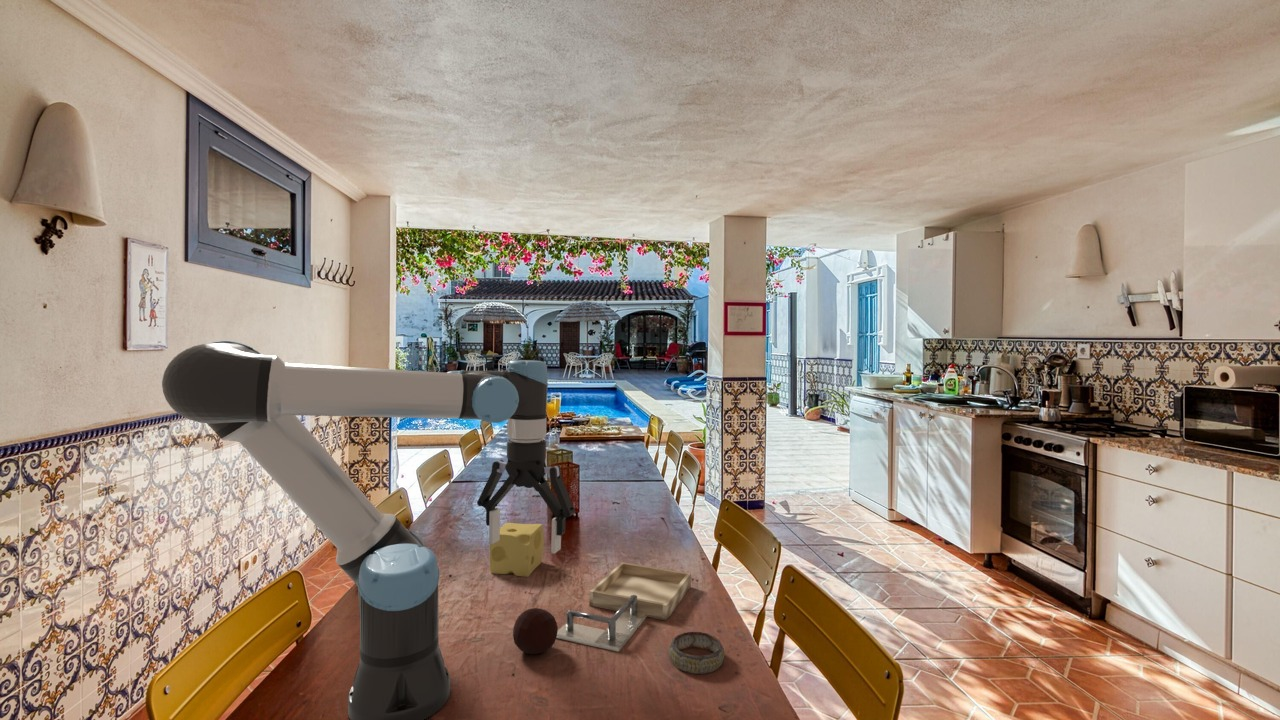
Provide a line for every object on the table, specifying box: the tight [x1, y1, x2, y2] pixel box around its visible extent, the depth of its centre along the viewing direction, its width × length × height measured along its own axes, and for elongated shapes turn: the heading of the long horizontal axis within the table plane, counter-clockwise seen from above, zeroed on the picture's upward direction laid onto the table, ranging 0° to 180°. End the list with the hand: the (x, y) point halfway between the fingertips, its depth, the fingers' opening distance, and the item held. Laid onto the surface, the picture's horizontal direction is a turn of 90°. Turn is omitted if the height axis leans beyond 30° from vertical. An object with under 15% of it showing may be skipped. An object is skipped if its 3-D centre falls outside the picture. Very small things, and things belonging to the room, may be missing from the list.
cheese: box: [489, 522, 545, 578], centre depth 149 cm, size 10×11×10 cm
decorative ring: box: [668, 631, 726, 675], centre depth 107 cm, size 10×3×10 cm
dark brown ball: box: [512, 607, 559, 655], centre depth 110 cm, size 8×9×8 cm
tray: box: [588, 561, 692, 621], centre depth 133 cm, size 18×18×3 cm
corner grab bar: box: [556, 595, 648, 653], centre depth 120 cm, size 16×14×5 cm
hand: (524, 546), depth 117 cm, fingers open, 13 cm apart
